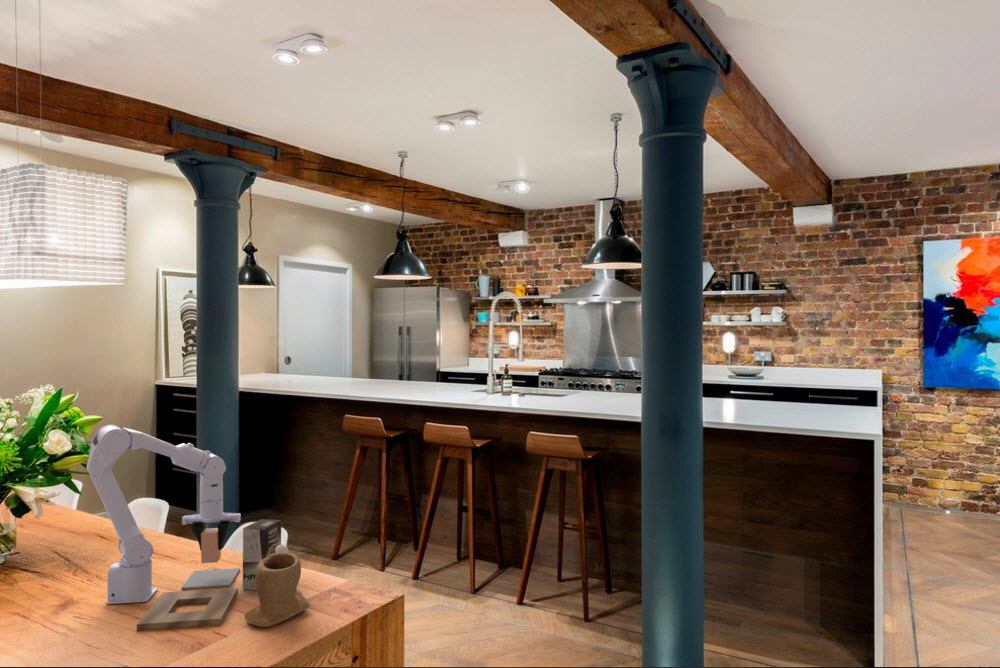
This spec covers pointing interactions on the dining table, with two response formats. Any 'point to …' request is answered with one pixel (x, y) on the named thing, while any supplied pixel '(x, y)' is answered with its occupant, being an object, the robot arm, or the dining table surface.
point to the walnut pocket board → (168, 601)
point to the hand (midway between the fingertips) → (211, 549)
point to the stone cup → (277, 590)
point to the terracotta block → (210, 546)
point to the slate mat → (211, 579)
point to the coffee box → (258, 547)
